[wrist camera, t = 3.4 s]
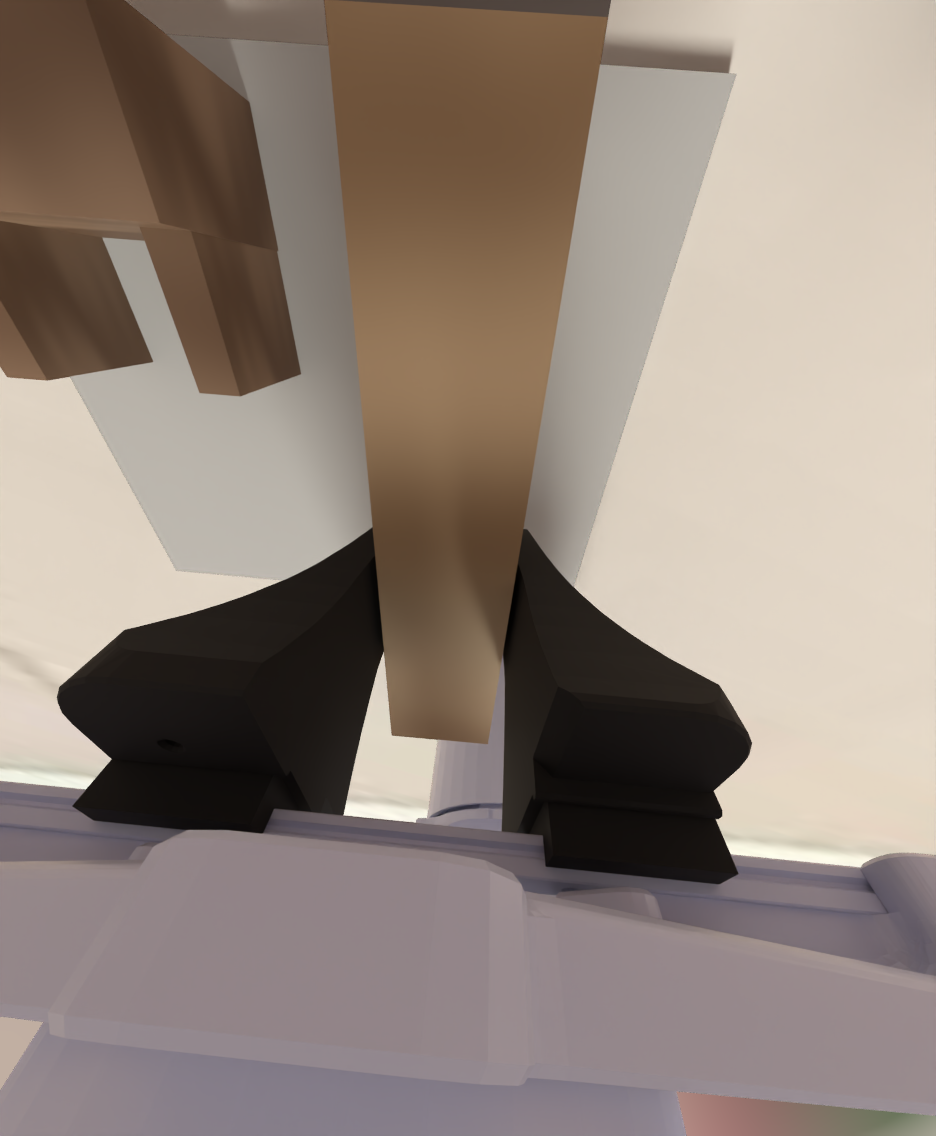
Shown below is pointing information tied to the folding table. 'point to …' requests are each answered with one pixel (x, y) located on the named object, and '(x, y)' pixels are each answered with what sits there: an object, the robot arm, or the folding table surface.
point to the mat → (327, 337)
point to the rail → (456, 308)
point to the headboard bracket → (130, 201)
